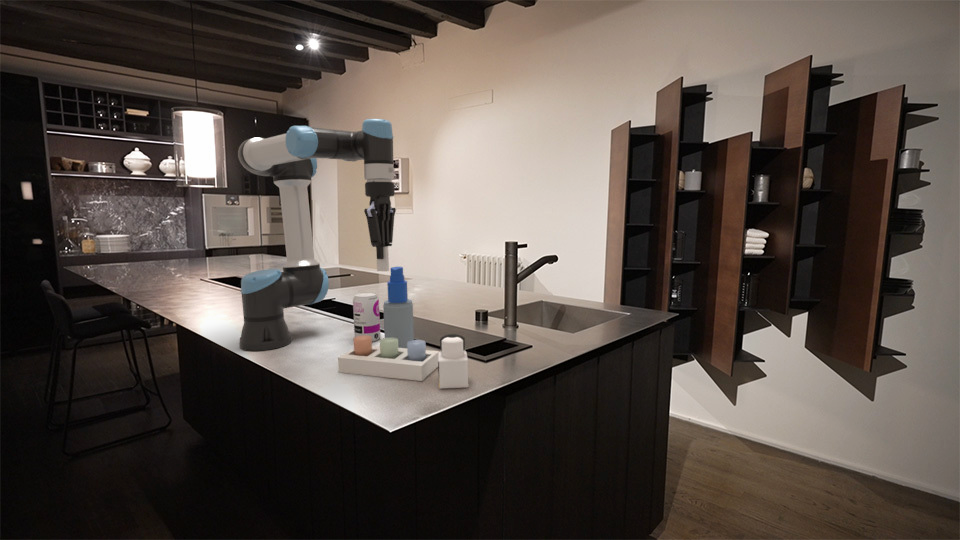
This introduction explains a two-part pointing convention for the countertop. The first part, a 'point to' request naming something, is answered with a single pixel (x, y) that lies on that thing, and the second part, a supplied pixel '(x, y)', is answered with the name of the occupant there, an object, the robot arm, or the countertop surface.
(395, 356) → the button sage
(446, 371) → the medicine bottle
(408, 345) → the button blue
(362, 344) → the button terracotta
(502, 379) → the countertop surface
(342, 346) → the countertop surface
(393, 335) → the spray bottle
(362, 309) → the supplement can
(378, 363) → the panel
